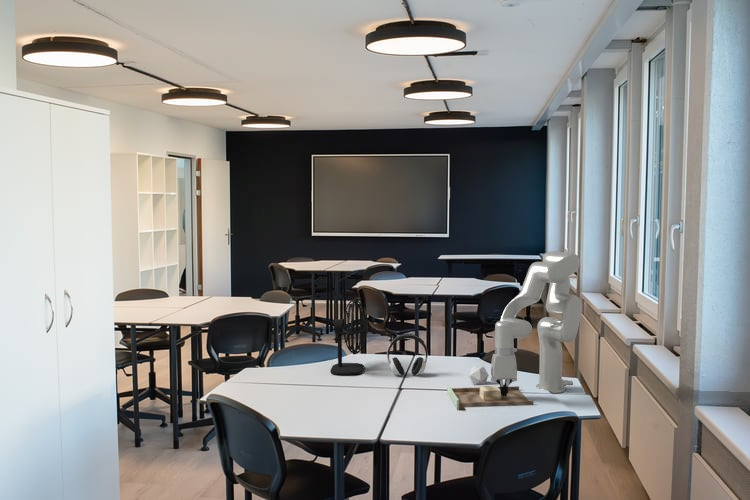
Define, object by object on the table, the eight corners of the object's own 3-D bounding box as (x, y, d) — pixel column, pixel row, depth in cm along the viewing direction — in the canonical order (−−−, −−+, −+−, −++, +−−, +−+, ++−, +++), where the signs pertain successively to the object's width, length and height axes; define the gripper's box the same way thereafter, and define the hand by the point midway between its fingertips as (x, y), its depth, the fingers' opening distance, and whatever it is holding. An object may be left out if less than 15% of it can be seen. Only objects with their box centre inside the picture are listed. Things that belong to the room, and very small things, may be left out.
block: (496, 395, 293) (496, 385, 293) (500, 400, 286) (500, 390, 286) (479, 395, 293) (479, 386, 292) (483, 400, 286) (483, 390, 285)
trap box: (518, 392, 301) (518, 386, 301) (533, 407, 280) (533, 400, 280) (449, 394, 299) (449, 388, 299) (458, 409, 278) (458, 403, 277)
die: (483, 389, 309) (493, 370, 312) (466, 379, 311) (476, 360, 313) (480, 390, 317) (490, 372, 320) (463, 381, 318) (474, 362, 321)
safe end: (449, 394, 299) (449, 385, 299) (458, 409, 278) (458, 399, 277) (447, 394, 299) (447, 385, 299) (456, 409, 278) (456, 400, 277)
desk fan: (365, 378, 327) (364, 303, 324) (327, 377, 328) (326, 303, 326) (369, 364, 354) (368, 295, 351) (334, 364, 355) (334, 295, 353)
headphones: (427, 373, 336) (426, 331, 334) (428, 377, 327) (428, 335, 326) (386, 373, 335) (386, 332, 334) (387, 378, 327) (387, 335, 325)
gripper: (519, 349, 293) (519, 392, 294) (484, 349, 291) (483, 393, 293) (524, 353, 285) (524, 397, 286) (488, 353, 284) (488, 398, 285)
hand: (503, 395), depth 290 cm, fingers closed
